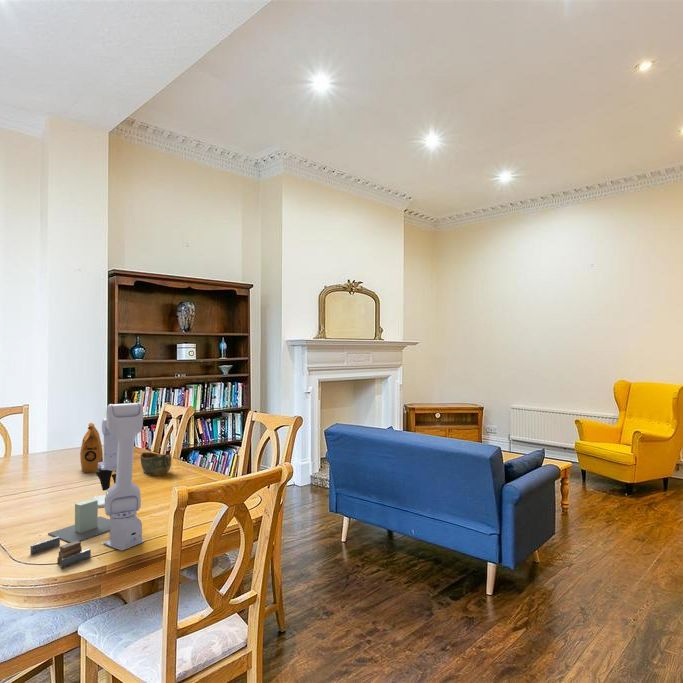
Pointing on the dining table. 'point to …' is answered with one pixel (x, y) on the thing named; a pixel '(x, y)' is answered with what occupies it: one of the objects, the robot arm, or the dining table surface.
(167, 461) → the dark green bowl
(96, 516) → the tall pastel pillar
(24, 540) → the dining table surface
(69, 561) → the offcut rack
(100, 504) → the hard drive
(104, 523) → the slate mat
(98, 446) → the coffee package
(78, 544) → the offcut stack
